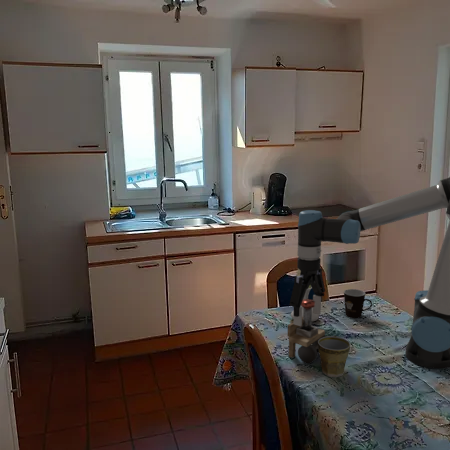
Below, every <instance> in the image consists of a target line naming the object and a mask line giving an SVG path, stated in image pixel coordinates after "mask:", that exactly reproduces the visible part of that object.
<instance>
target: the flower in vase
mask: <svg viewBox="0 0 450 450" xmlns="http://www.w3.org/2000/svg"><path fill="white" fill-rule="evenodd" d="M300 273H301V271H300V270H299V269H298V268H297V270H296V275H295V276H300ZM311 290H312V287H311V285H310V286H309V288H308V289H307V290H306V292H305V295H304V298H303V300H304V299H309V294H310V292H311ZM301 307H302V306H301ZM290 317H291V318H292V320H294V309H293V310H292V311H291V313H290ZM302 317H303V307H302ZM319 318H320V315H318V314H314V313H313V308H312V323H313V322H315V321H318V319H319Z"/></svg>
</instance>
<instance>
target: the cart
mask: <svg viewBox="0 0 450 450" xmlns="http://www.w3.org/2000/svg"><path fill="white" fill-rule="evenodd" d="M293 323H294V321H293V322H291V323H289V324H287V337H288V357H290V358H292V359H294V358H295V357H296V346H297V345H298V346H299V348H298V350H297V355H298V358H299V360H300V361H302V363H305V364H311V363H313V362H314V361H316V360H317V358H318V354H319V349H318V340H319V339H320V338H322V337H327V336H326V330H324V329H322V328H321V329H320V328H319V327H317V326H314V325H311V331H306V330H303V317H302V326H298V325H294V324H293Z"/></svg>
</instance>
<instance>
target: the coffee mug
mask: <svg viewBox="0 0 450 450" xmlns="http://www.w3.org/2000/svg"><path fill="white" fill-rule="evenodd" d="M343 300H344V310H345V311H344V313H345V316H346V317H347V318H350V319H360V318H362V316H363V312H365V311H368V310H370V309H371V308H372V306H373V302H372V300H371V299H369V298H366V292H365V291H364V290H361V289H356V288H355V289H354V288H348V289H344V291H343ZM365 301H368V302H369V303H370V306H369V307H367V308H364V303H365Z"/></svg>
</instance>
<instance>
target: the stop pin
mask: <svg viewBox="0 0 450 450" xmlns="http://www.w3.org/2000/svg"><path fill="white" fill-rule="evenodd" d="M301 306H302V307H303V330H306V331H311V326H312V323H313V322H312V308H313V307H315V301H313V299H309V298H308V299H304V300H303V301H302V304H301Z"/></svg>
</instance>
